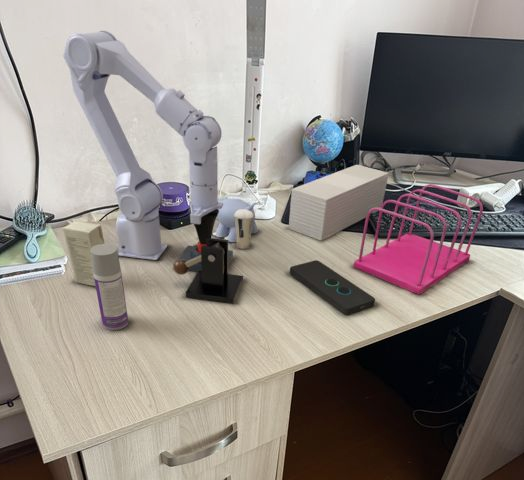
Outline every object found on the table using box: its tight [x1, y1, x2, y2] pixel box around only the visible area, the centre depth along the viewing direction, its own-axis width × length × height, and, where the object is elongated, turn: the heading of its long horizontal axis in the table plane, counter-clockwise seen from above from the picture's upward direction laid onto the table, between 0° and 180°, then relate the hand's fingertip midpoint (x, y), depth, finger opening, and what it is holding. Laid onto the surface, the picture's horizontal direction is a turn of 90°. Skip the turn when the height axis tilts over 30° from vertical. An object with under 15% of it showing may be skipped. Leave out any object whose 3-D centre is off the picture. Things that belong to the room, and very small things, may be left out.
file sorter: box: [352, 183, 484, 295], centre depth 111 cm, size 17×25×16 cm
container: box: [90, 243, 129, 331], centre depth 86 cm, size 5×5×15 cm
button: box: [196, 241, 206, 253], centre depth 109 cm, size 4×4×2 cm
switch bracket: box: [185, 237, 244, 304], centre depth 99 cm, size 10×10×10 cm
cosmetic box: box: [62, 220, 105, 287], centre depth 99 cm, size 6×4×12 cm
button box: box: [177, 243, 234, 272], centre depth 111 cm, size 11×9×4 cm
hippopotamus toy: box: [212, 197, 259, 243], centre depth 124 cm, size 11×15×10 cm
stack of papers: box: [287, 164, 390, 242], centre depth 134 cm, size 32×11×11 cm, turn 140°
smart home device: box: [289, 259, 376, 316], centre depth 104 cm, size 8×2×20 cm
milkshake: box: [234, 209, 253, 250], centre depth 117 cm, size 4×5×10 cm
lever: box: [172, 242, 225, 276], centre depth 99 cm, size 12×3×3 cm
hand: (205, 242), depth 109 cm, fingers closed
